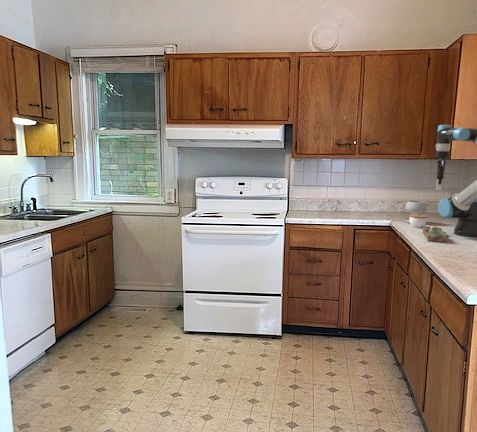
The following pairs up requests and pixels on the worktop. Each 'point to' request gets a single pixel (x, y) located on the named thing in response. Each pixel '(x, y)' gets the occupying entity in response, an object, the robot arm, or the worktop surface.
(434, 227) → the birch block
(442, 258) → the worktop surface
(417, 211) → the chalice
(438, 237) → the two-trap track
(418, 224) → the lidded jar
